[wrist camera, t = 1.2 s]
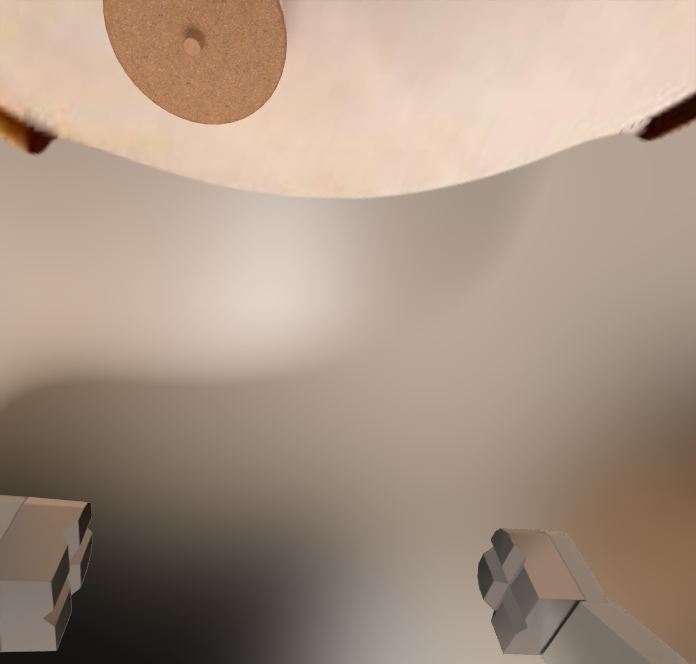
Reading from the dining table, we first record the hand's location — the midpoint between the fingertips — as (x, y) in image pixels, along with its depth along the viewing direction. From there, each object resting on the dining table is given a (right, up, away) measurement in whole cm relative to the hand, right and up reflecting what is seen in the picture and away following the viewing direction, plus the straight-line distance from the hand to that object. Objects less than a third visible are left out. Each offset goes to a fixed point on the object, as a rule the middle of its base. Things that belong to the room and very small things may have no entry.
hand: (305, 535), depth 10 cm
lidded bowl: (-10, +32, +32) cm, 46 cm away
